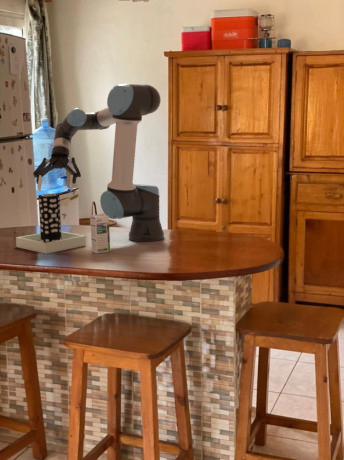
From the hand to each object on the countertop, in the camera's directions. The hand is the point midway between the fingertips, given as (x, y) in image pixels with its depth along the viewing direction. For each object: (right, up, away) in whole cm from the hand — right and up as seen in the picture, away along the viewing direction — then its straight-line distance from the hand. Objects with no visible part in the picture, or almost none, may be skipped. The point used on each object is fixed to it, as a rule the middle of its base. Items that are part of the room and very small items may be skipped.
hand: (54, 189), depth 271 cm
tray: (0, -24, -7) cm, 25 cm away
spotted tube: (0, -23, -7) cm, 24 cm away
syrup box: (+21, -26, -18) cm, 38 cm away
